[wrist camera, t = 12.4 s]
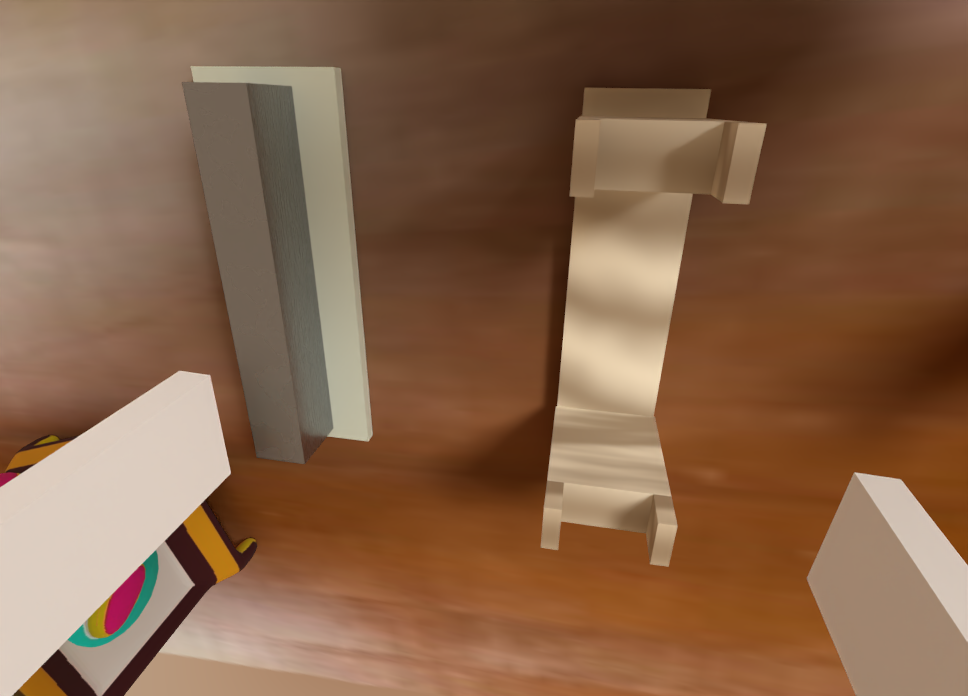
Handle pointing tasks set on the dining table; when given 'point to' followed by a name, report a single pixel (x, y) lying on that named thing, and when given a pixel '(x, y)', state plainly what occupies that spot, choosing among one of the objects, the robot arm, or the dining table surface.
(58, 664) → the decorative lantern
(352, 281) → the mat
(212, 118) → the rail
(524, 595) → the dining table surface
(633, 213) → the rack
